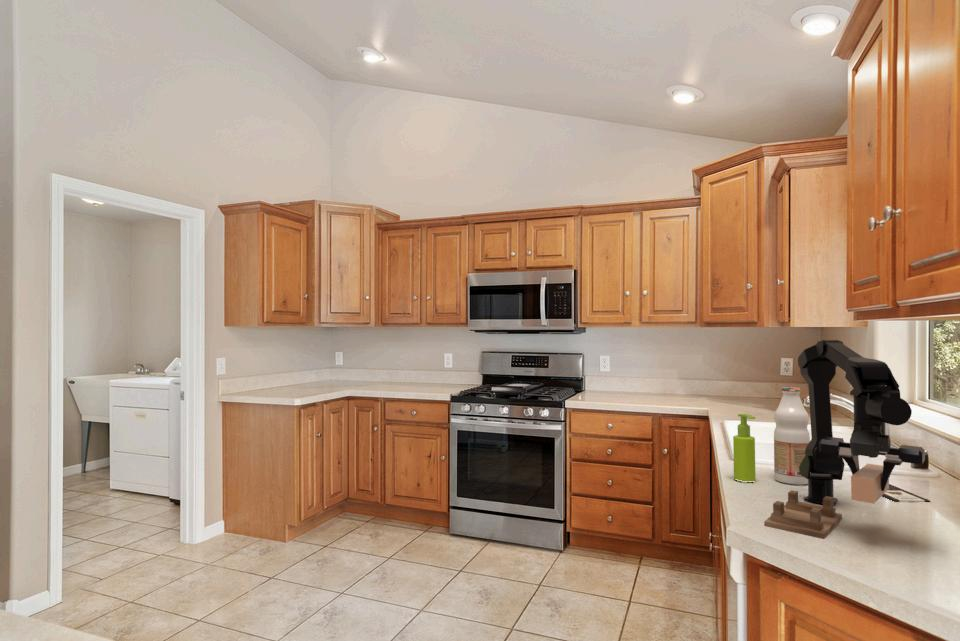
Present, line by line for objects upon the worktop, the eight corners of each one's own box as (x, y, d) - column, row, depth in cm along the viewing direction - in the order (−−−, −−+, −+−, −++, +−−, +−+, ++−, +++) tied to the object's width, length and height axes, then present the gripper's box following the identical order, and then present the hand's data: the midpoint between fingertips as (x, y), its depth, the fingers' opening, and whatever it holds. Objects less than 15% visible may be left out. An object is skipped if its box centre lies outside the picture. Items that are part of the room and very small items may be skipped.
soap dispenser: (745, 484, 162) (744, 416, 162) (729, 478, 169) (728, 413, 169) (762, 483, 163) (761, 415, 164) (746, 477, 170) (745, 412, 171)
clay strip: (868, 485, 129) (867, 463, 129) (889, 488, 126) (888, 466, 126) (851, 499, 118) (850, 476, 118) (874, 503, 115) (873, 479, 115)
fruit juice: (770, 481, 165) (769, 387, 166) (778, 475, 172) (777, 385, 173) (807, 487, 159) (805, 389, 160) (813, 481, 166) (811, 387, 167)
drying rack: (786, 507, 141) (786, 487, 141) (842, 518, 133) (841, 497, 133) (764, 525, 128) (764, 503, 128) (824, 538, 120) (823, 515, 120)
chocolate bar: (884, 482, 162) (930, 500, 145) (884, 485, 162) (930, 504, 145) (852, 481, 163) (894, 500, 145) (852, 484, 163) (894, 503, 145)
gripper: (812, 417, 123) (813, 488, 123) (918, 427, 110) (920, 506, 110) (824, 412, 131) (825, 478, 131) (924, 420, 118) (926, 494, 118)
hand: (870, 488), depth 122 cm, fingers closed on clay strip, 4 cm apart
